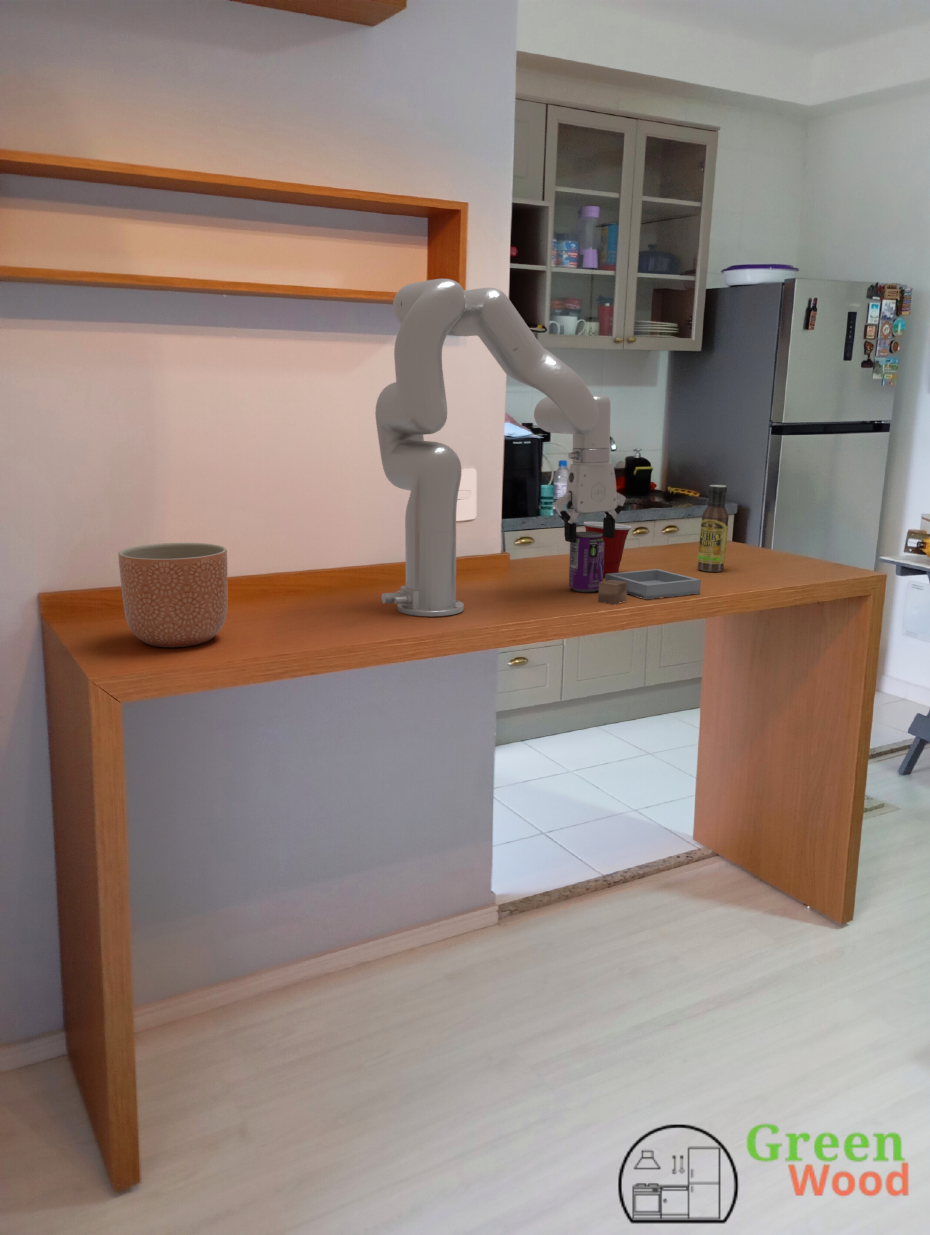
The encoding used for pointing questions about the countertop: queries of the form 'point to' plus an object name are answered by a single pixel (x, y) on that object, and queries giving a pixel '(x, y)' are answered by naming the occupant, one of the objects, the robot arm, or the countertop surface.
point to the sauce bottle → (713, 531)
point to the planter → (174, 592)
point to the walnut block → (612, 591)
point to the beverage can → (586, 562)
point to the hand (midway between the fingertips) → (589, 539)
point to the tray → (656, 583)
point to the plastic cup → (611, 545)
